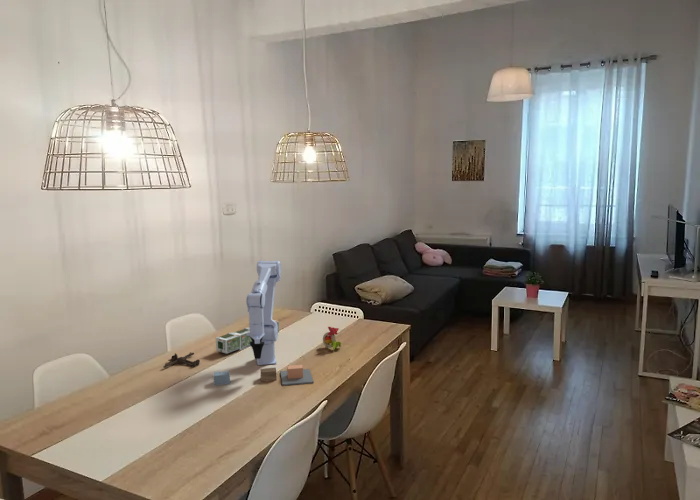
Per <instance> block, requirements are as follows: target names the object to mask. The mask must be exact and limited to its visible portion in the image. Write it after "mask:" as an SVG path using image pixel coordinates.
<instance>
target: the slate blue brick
mask: <svg viewBox="0 0 700 500" xmlns="http://www.w3.org/2000/svg"><path fill="white" fill-rule="evenodd" d="M230 384H231V372H230V370H226V371H214V372H213V386H222V385H230Z"/></svg>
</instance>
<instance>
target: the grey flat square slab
mask: <svg viewBox="0 0 700 500" xmlns="http://www.w3.org/2000/svg"><path fill="white" fill-rule="evenodd" d="M279 372H280V373H279V374H280V379H281V385H282V386H292V385H293V386H294V385H305V384H306V385H307V384H314V379H313V376H312V373H311V370H310V368H305V369H304V368H303V378H291V379H288V376H287V370H280V371H279Z"/></svg>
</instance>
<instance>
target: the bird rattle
mask: <svg viewBox="0 0 700 500" xmlns="http://www.w3.org/2000/svg"><path fill="white" fill-rule="evenodd" d="M327 329H328V330H329V331H327V332H325V333H324V334H323V335H322V336H323V337H322V342H323V345H324V347H325V349H328V348H329V349H330V348H332V351H335V350H336V349H337V348H338V347H339V348H341V347H342V342H341V341H340V340H339V341H337V338H336V336H335V335H338V332H339V330H340V328H337V327H332V326H328V327H327Z"/></svg>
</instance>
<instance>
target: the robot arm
mask: <svg viewBox="0 0 700 500" xmlns="http://www.w3.org/2000/svg"><path fill="white" fill-rule="evenodd" d="M256 273H257V275H258V278H257V280H256V281H255V282H254V283H253V286H252V289H251V291H250V293H249V294H247V295H246V301H245V302H246V308H247V312H248V328H249V333H247V336H250V338H251V340H252V342H250V345H251V346H250V347H251V348H252V352H253V357H254V359H255V360H256V365H258V366H261V365H262V366H265V365H275V364H276V365H277V359H276V354H275V351H276V350H275V349H276V348H275V347H276V346H275V342H277V340H278V338H279V333H278V325H277V323H276V322H275V321H274V319H273V314H274V304H275V292H276V291H275V290H276V285H277V283H278V282H279V281H280V280H281V275H282V263H281V261H280V260H258V262H257V263H256Z"/></svg>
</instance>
